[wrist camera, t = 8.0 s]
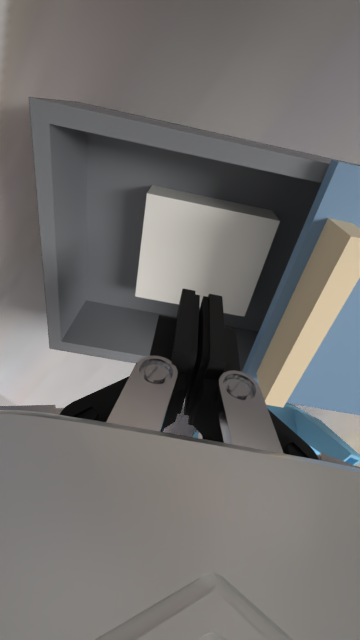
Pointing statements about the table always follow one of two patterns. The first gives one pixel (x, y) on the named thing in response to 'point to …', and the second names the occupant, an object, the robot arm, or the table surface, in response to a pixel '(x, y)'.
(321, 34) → the table surface
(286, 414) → the teapot
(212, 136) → the base
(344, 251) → the lid
